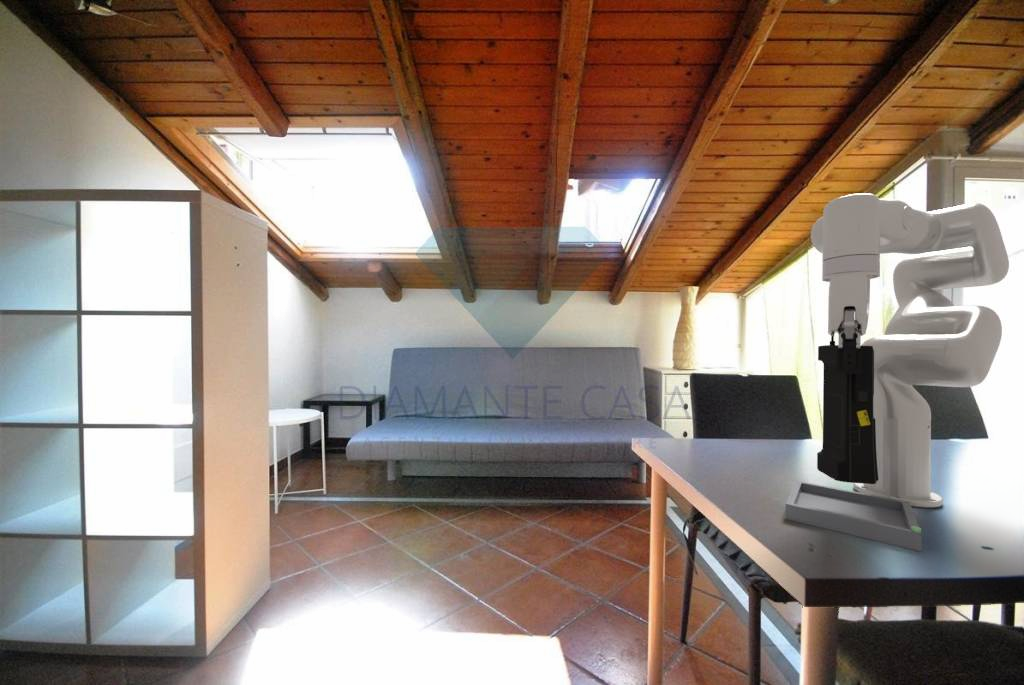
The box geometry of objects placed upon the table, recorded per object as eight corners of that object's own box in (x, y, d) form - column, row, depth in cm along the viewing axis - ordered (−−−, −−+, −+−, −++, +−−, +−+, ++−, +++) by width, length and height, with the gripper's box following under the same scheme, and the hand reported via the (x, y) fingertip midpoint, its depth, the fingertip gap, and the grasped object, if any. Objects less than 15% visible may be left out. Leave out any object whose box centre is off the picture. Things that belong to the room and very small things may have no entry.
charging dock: (795, 493, 79) (796, 477, 79) (909, 516, 69) (909, 498, 69) (785, 518, 67) (785, 500, 67) (921, 551, 57) (921, 529, 57)
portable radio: (885, 487, 64) (887, 330, 64) (842, 484, 65) (843, 330, 65) (854, 471, 71) (855, 331, 71) (815, 469, 73) (817, 331, 73)
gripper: (825, 279, 77) (824, 369, 77) (819, 264, 64) (818, 373, 64) (877, 275, 73) (876, 372, 72) (883, 258, 59) (882, 376, 59)
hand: (849, 372), depth 68 cm, fingers closed on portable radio, 8 cm apart
